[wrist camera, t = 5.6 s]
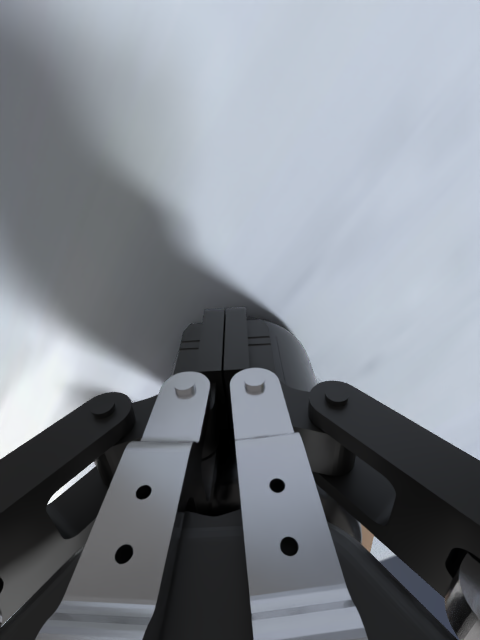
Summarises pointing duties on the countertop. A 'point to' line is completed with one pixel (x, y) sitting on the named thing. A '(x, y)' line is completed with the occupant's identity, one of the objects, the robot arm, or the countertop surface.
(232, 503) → the supplement bottle
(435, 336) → the countertop surface
